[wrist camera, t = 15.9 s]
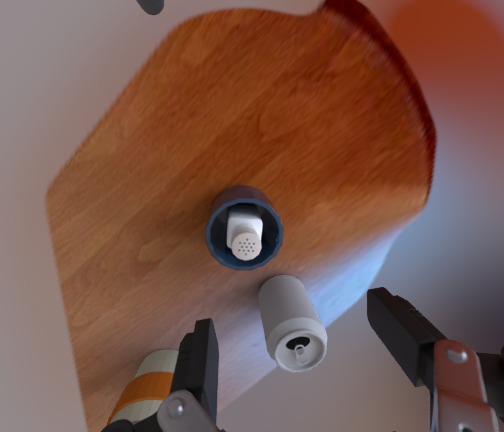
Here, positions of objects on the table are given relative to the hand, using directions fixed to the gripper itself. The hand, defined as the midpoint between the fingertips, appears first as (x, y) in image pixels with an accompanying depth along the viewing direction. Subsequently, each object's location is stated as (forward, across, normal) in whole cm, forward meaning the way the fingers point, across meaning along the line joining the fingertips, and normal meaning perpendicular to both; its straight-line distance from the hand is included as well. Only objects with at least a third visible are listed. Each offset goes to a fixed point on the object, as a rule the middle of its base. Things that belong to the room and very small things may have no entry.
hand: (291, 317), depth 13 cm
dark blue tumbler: (+24, +2, +2) cm, 24 cm away
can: (+24, -2, +16) cm, 29 cm away
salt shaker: (+24, +2, +2) cm, 24 cm away
